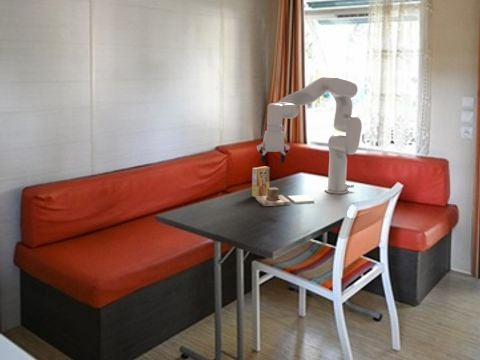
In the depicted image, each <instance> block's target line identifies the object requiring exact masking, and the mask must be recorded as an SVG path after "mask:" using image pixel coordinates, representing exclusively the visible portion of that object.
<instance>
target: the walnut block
mask: <svg viewBox="0 0 480 360" xmlns="http://www.w3.org/2000/svg"><path fill="white" fill-rule="evenodd" d="M279 195H280V189H279V188H278V187H276V186H274V187H272V186H271V187H269V188H268V195H267V200H268V201H276V200H279Z"/></svg>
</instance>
